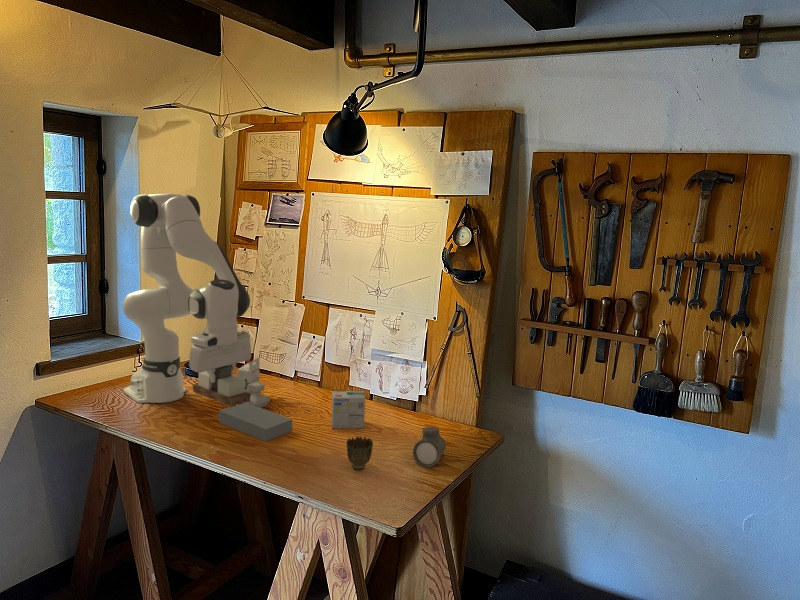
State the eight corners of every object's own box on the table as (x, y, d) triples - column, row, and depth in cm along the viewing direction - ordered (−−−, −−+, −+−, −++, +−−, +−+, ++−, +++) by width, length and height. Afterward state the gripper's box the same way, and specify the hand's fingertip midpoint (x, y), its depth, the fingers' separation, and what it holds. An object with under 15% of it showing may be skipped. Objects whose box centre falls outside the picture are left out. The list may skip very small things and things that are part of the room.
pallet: (192, 391, 190) (192, 362, 188) (211, 386, 196) (212, 357, 194) (231, 407, 180) (232, 375, 178) (250, 401, 185) (251, 370, 184)
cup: (345, 462, 178) (346, 435, 177) (371, 462, 179) (372, 436, 177) (345, 474, 171) (346, 446, 169) (372, 474, 172) (373, 447, 170)
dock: (218, 422, 201) (218, 410, 200) (245, 413, 210) (245, 402, 209) (265, 441, 189) (265, 429, 188) (291, 431, 198) (292, 419, 197)
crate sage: (217, 392, 184) (217, 379, 183) (233, 388, 188) (234, 375, 188) (228, 396, 181) (228, 383, 180) (244, 392, 186) (245, 379, 185)
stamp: (253, 413, 211) (253, 389, 209) (239, 408, 214) (240, 385, 213) (272, 406, 218) (273, 383, 217) (259, 401, 222) (259, 379, 220)
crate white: (198, 385, 189) (198, 372, 188) (214, 381, 194) (214, 368, 193) (208, 389, 186) (208, 376, 185) (225, 384, 191) (225, 372, 190)
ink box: (246, 393, 229) (247, 355, 227) (259, 395, 228) (260, 356, 226) (236, 401, 221) (236, 361, 218) (249, 402, 220) (249, 362, 217)
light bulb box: (362, 421, 210) (364, 390, 208) (364, 428, 203) (366, 397, 201) (330, 421, 208) (331, 390, 206) (331, 429, 201) (333, 397, 200)
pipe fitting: (438, 470, 176) (439, 434, 175) (411, 466, 179) (412, 430, 178) (450, 458, 187) (451, 424, 187) (425, 455, 190) (426, 421, 189)
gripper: (242, 327, 194) (241, 370, 197) (186, 338, 178) (186, 384, 180) (256, 331, 191) (255, 375, 193) (199, 343, 174) (199, 390, 177)
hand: (221, 380), depth 187 cm, fingers closed on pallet, 4 cm apart
